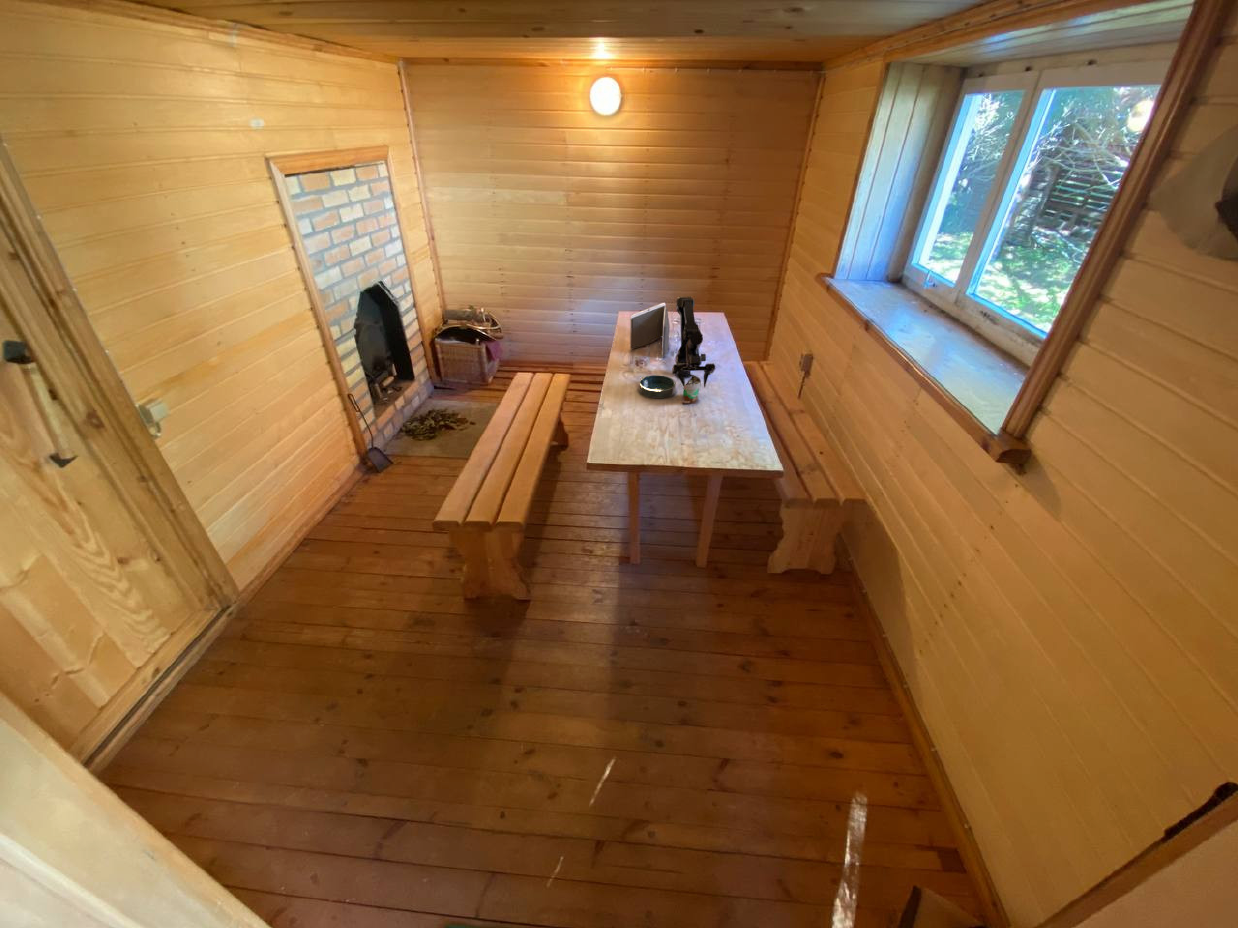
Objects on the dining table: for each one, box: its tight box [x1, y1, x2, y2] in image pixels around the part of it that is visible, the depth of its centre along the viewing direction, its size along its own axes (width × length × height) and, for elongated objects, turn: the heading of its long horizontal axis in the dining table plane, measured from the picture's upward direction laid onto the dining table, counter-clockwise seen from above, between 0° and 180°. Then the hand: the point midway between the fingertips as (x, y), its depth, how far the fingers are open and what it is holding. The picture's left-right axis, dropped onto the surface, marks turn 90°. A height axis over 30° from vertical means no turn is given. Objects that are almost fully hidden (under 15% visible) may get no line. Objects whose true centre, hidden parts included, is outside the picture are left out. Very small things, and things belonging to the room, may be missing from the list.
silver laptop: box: [629, 302, 671, 358], centre depth 282 cm, size 35×22×20 cm, turn 176°
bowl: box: [638, 374, 677, 399], centre depth 240 cm, size 17×17×4 cm
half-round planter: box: [682, 374, 702, 405], centre depth 230 cm, size 12×6×10 cm, turn 155°
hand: (694, 387), depth 227 cm, fingers open, 9 cm apart
